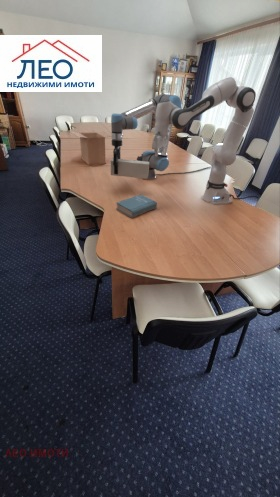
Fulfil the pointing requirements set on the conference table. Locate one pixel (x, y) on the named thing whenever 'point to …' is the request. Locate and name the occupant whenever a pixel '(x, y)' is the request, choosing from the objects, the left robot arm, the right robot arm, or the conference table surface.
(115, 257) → the conference table surface
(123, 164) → the long box
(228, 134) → the right robot arm
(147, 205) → the book
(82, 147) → the box
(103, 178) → the conference table surface
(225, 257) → the conference table surface
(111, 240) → the conference table surface
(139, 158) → the laser sight
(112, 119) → the left robot arm
